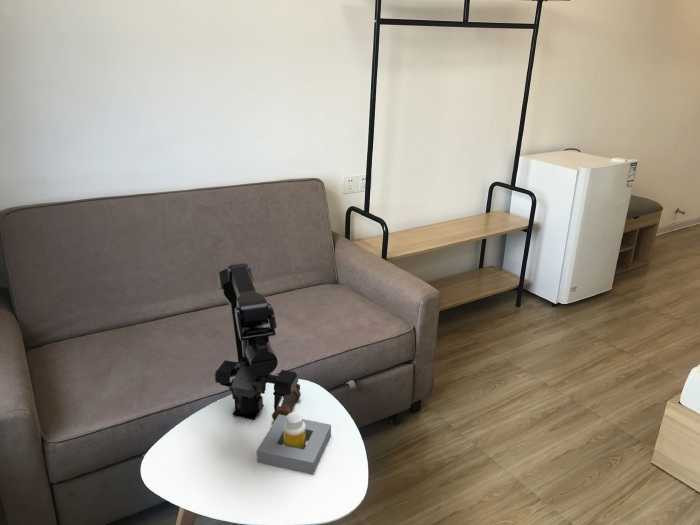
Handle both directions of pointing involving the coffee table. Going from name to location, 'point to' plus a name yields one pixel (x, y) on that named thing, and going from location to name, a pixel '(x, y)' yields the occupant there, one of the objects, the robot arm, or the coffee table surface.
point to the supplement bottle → (295, 431)
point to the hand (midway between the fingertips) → (257, 406)
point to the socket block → (292, 457)
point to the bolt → (288, 403)
